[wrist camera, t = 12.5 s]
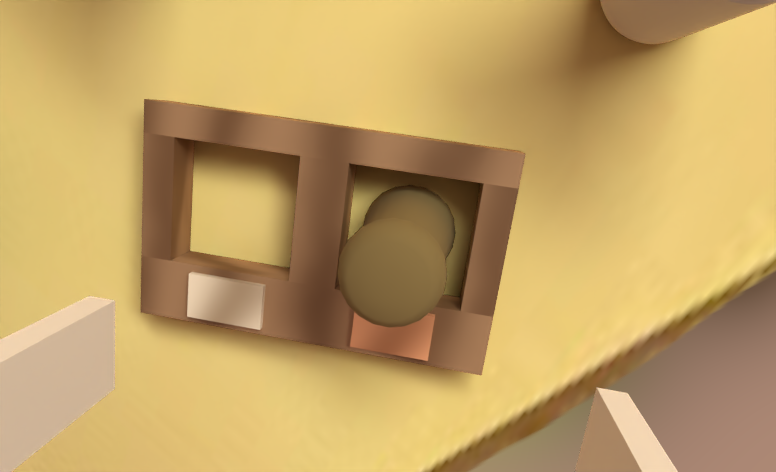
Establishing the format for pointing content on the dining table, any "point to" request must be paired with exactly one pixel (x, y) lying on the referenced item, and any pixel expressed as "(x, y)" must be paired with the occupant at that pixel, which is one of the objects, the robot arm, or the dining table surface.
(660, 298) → the dining table surface
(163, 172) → the caddy
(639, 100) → the dining table surface
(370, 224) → the cork
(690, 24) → the beverage can
